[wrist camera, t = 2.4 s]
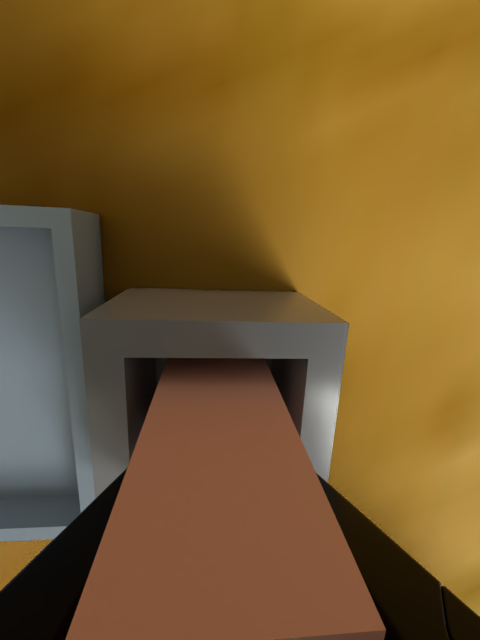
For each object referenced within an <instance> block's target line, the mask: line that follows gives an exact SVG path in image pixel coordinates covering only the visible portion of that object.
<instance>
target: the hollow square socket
mask: <svg viewBox="0 0 480 640" xmlns="http://www.w3.org/2000/svg"><path fill="white" fill-rule="evenodd" d="M79 323H80V334H81V345H82V356H83V368H84V379H85V390H86V401H87V412H88V423H89V435H90V446H91V457H92V468H93V479H94V490H95V498H97V497H98V496H99V495H100V494H101V493H102V492H103V491H104V490H105V489H106V488H107V487H108V486H109V485H110V484H111V483H112V482H113V481H114V480H115V479H116V478H117V477H118V476H119V475H120V474H121V473H122V472H123V471H124V470H125V469H126V468H127V467H128V465H129V462H130V460H131V457H132V454H133V451H134V449H135V446H136V443H137V440H138V437H139V435H140V432H141V429H142V426H143V424H144V421H145V418H146V415H147V413H148V410H149V407H150V404H151V402H152V399H153V396H154V393H155V391H156V388H157V385H158V382H159V379H160V377H161V374H162V371H163V368H164V366H165V363H166V360H167V358H264V359H265V360H266V362H267V365H268V367H269V369H270V371H271V374H272V376H273V378H274V380H275V383H276V385H277V387H278V389H279V392H280V394H281V396H282V398H283V401H284V403H285V405H286V407H287V409H288V412H289V414H290V416H291V418H292V421H293V423H294V425H295V427H296V430H297V432H298V434H299V436H300V439H301V441H302V443H303V445H304V447H305V450H306V452H307V454H308V456H309V459H310V461H311V463H312V465H313V468H314V470H315V472H316V473H317V474H318V475H319V476H321V477H322V478H323V479H324V480H325V481H326V482H327V483H328V478H329V470H330V463H331V455H332V448H333V440H334V433H335V425H336V418H337V410H338V403H339V395H340V388H341V380H342V373H343V365H344V358H345V350H346V343H347V335H348V328H349V323H348V322H346V321H344V320H343V319H341V318H340V317H338V316H336V315H335V314H333V313H331V312H330V311H328V310H327V309H325V308H323V307H322V306H320V305H319V304H317V303H315V302H314V301H312V300H311V299H309V298H307V297H306V296H304V295H302V294H301V293H299V292H286V291H249V290H212V289H176V288H139V287H130V288H128V289H127V290H125V291H123V292H122V293H120V294H119V295H117V296H115V297H114V298H112V299H110V300H109V301H107V302H106V303H104V304H102V305H101V306H99V307H97V308H96V309H94V310H92V311H91V312H89V313H88V314H86V315H84V316H83V317H81V318H79Z"/></svg>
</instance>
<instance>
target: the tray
mask: <svg viewBox="0 0 480 640" xmlns="http://www.w3.org/2000/svg"><path fill="white" fill-rule="evenodd" d="M104 303H105V291H104V277H103V262H102V247H101V232H100V217H99V214H96V213H91V212H86V211H81V210H77V209H72V208H57V207H37V206H18V205H0V542H7V541H28V540H49V539H54V538H55V537H56V536H58V535H59V534H60V533H61V532H62V531H63V530H64V529H65V528H66V527H67V526H68V525H69V524H70V523H71V522H72V521H73V520H74V519H75V518H76V517H77V516H78V515H79V514H80V513H81V512H82V511H83V510H84V509H85V508H86V507H87V506H88V505H89V504H90V503H91V502H92V501H93V500H94V499H95V490H94V479H93V468H92V457H91V446H90V435H89V423H88V412H87V401H86V390H85V379H84V368H83V356H82V345H81V334H80V323H79V318H81V317H83V316H84V315H86V314H88V313H89V312H91V311H92V310H94V309H96V308H97V307H99V306H101V305H102V304H104Z"/></svg>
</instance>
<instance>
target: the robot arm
mask: <svg viewBox="0 0 480 640" xmlns="http://www.w3.org/2000/svg"><path fill="white" fill-rule="evenodd" d="M127 468H128V467H127ZM127 468H126V469H125V470H124V471H123V472H122V473H121V474H120V475H119V476H118V477H117V478H116V479H115V480H114V481H113V482H112V483H111V484H110V485H109V486H108V487H107V488H106V489H105V490H104V491H103V492H102V493H101V494H100V495H99V496H98V497H97V498H95V499H94V500H93V501H92V502H91V503H90V504H89V505H88V506H87V507H86V508H85V509H84V510H83V511H82V512H81V513H80V514H79V515H78V516H77V517H76V518H75V519H74V520H73V521H72V522H71V523H70V524H69V525H68V526H67V527H66V528H65V529H64V530H63V531H62V532H61V533H60V534H59V535H58V536H56V537H55V538H54V539H53V540H52V541H51V542H50V543H49V544H48V545H47V546H46V547H45V548H44V549H43V550H42V551H41V552H40V553H39V554H38V555H37V556H36V557H35V558H34V559H33V560H32V561H31V562H30V563H29V564H28V565H27V566H26V567H25V568H24V569H23V570H22V571H21V572H20V573H18V574H17V575H16V576H15V577H14V578H13V579H12V580H11V581H10V582H9V583H8V584H7V585H6V586H5V587H4V588H3V589H2V590H1V591H0V640H65V639H66V636H67V634H68V631H69V628H70V625H71V623H72V620H73V617H74V614H75V612H76V609H77V606H78V603H79V600H80V598H81V595H82V592H83V589H84V587H85V584H86V581H87V578H88V576H89V573H90V570H91V567H92V565H93V562H94V559H95V556H96V554H97V551H98V548H99V545H100V542H101V540H102V537H103V534H104V531H105V529H106V526H107V523H108V520H109V518H110V515H111V512H112V509H113V507H114V504H115V501H116V498H117V495H118V493H119V490H120V487H121V484H122V482H123V479H124V476H125V473H126V471H127ZM316 474H317V473H316ZM317 477H318V479H319V481H320V483H321V486H322V488H323V490H324V492H325V494H326V497H327V499H328V501H329V503H330V506H331V508H332V510H333V512H334V515H335V517H336V519H337V521H338V524H339V526H340V528H341V530H342V532H343V535H344V537H345V539H346V541H347V544H348V546H349V548H350V550H351V553H352V555H353V557H354V559H355V562H356V564H357V566H358V568H359V570H360V573H361V575H362V577H363V579H364V582H365V584H366V586H367V588H368V591H369V593H370V595H371V597H372V600H373V602H374V604H375V606H376V609H377V611H378V613H379V615H380V617H381V620H382V622H383V624H384V626H385V629H386V633H385V638H384V640H480V616H479V615H477V614H476V613H475V612H474V611H473V610H471V609H470V608H469V607H468V606H467V605H466V604H465V603H463V602H462V601H461V600H460V599H459V598H458V597H457V596H455V595H454V594H453V593H452V592H451V591H450V590H449V589H448V588H446V587H445V586H442V587H441V584H440V582H439V581H438V580H437V579H436V578H435V577H434V576H433V575H431V574H430V573H429V572H428V571H427V570H426V569H425V568H424V567H422V566H421V565H420V564H419V563H418V562H417V561H416V560H415V559H413V558H412V557H411V556H410V555H409V554H408V553H407V552H405V551H404V550H403V549H402V548H401V547H400V546H399V545H398V544H396V543H395V542H394V541H393V540H392V539H391V538H390V537H388V536H387V535H386V534H385V533H384V532H383V531H382V530H381V529H379V528H378V527H377V526H376V525H375V524H374V523H373V522H372V521H370V520H369V519H368V518H367V517H366V516H365V515H364V514H362V513H361V512H360V511H359V510H358V509H357V508H356V507H355V506H353V505H352V504H351V503H350V502H349V501H348V500H347V499H345V498H344V497H343V496H342V495H341V494H340V493H339V492H338V491H336V490H335V489H334V488H333V487H332V486H331V485H330V484H329V483H327V482H326V481H325V480H324V479H323V478H322V477H321V476H319V475H318V474H317Z"/></svg>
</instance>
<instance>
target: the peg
mask: <svg viewBox="0 0 480 640" xmlns="http://www.w3.org/2000/svg"><path fill="white" fill-rule="evenodd" d="M385 633H386V629H385V626H384V624H383V622H382V620H381V617H380V615H379V613H378V611H377V609H376V606H375V604H374V602H373V600H372V597H371V595H370V593H369V591H368V588H367V586H366V584H365V582H364V579H363V577H362V575H361V573H360V570H359V568H358V566H357V564H356V562H355V559H354V557H353V555H352V553H351V550H350V548H349V546H348V544H347V541H346V539H345V537H344V535H343V532H342V530H341V528H340V526H339V524H338V521H337V519H336V517H335V515H334V512H333V510H332V508H331V506H330V503H329V501H328V499H327V497H326V494H325V492H324V490H323V488H322V486H321V483H320V481H319V479H318V477H317V474H316V472H315V470H314V468H313V465H312V463H311V461H310V459H309V456H308V454H307V452H306V450H305V447H304V445H303V443H302V441H301V439H300V436H299V434H298V432H297V430H296V427H295V425H294V423H293V421H292V418H291V416H290V414H289V412H288V409H287V407H286V405H285V403H284V401H283V398H282V396H281V394H280V392H279V389H278V387H277V385H276V383H275V380H274V378H273V376H272V374H271V371H270V369H269V367H268V365H267V362H266V360H265V359H264V358H167V360H166V363H165V366H164V368H163V371H162V374H161V377H160V379H159V382H158V385H157V388H156V391H155V393H154V396H153V399H152V402H151V404H150V407H149V410H148V413H147V415H146V418H145V421H144V424H143V426H142V429H141V432H140V435H139V437H138V440H137V443H136V446H135V449H134V451H133V454H132V457H131V460H130V462H129V465H128V468H127V471H126V473H125V476H124V479H123V482H122V484H121V487H120V490H119V493H118V495H117V498H116V501H115V504H114V507H113V509H112V512H111V515H110V518H109V520H108V523H107V526H106V529H105V531H104V534H103V537H102V540H101V542H100V545H99V548H98V551H97V554H96V556H95V559H94V562H93V565H92V567H91V570H90V573H89V576H88V578H87V581H86V584H85V587H84V589H83V592H82V595H81V598H80V600H79V603H78V606H77V609H76V612H75V614H74V617H73V620H72V623H71V625H70V628H69V631H68V634H67V636H66V639H65V640H384V638H385Z"/></svg>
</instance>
